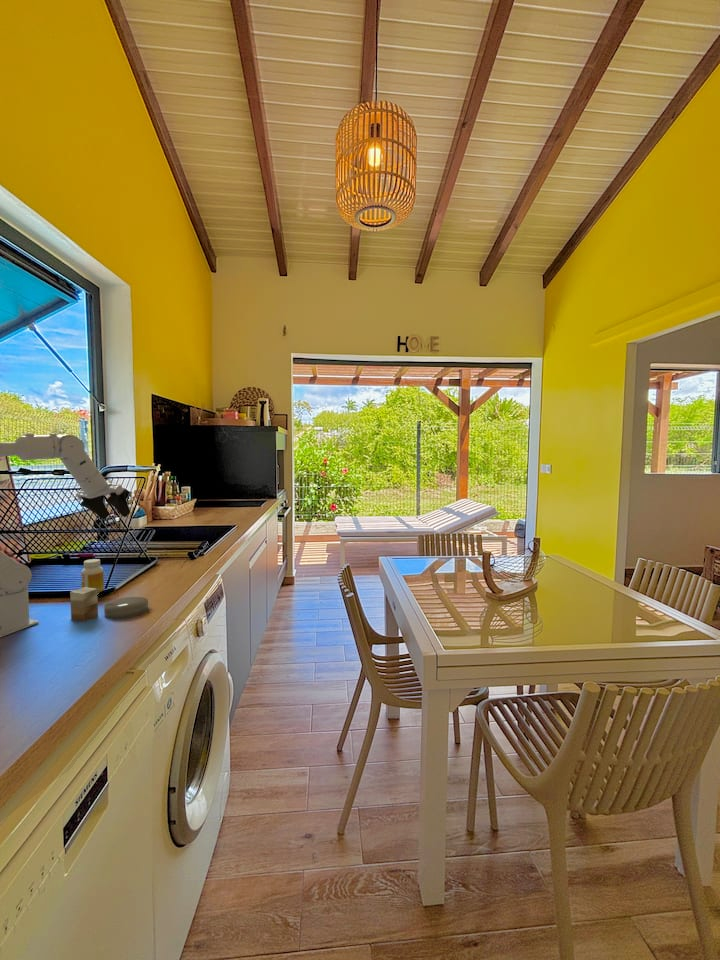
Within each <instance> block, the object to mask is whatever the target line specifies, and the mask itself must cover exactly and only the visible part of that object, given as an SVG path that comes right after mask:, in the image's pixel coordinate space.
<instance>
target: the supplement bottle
mask: <svg viewBox="0 0 720 960" xmlns="http://www.w3.org/2000/svg"><path fill="white" fill-rule="evenodd" d="M83 567H84V568H82V570H81V572H80V573H81V575H80V576H81V588H83V587H88V588H95V589H97V595H98V594H99V593H100V592H102V591H103V590H104V591H105V582H104V580H105V579H104V578H105V577H104V568H103V567H102V566H101V559H100V558H98V559H97V558H92V559H86V560H84V561H83ZM98 596H99V595H98Z"/></svg>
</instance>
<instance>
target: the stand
mask: <svg viewBox="0 0 720 960" xmlns="http://www.w3.org/2000/svg"><path fill="white" fill-rule="evenodd" d="M103 608H104V609H103V610H104V611H103V612H104V613H103V614H104V617H106V618H109V619H127V618H133V617H137V616H139V615H142V614H144V613H146V612H147V611H148V610H149V599H147V598H146V597H143V596H128V597H121V598H116V599H113V600H110V601H107V602H106V603H105V605H104V606H103ZM145 611H146V612H145Z"/></svg>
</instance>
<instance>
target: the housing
mask: <svg viewBox="0 0 720 960" xmlns="http://www.w3.org/2000/svg"><path fill="white" fill-rule="evenodd" d="M69 595H70V596H69V597H70V618H71V619H70V620H71V621H76V622H81V623H85V622H88V621H90V620H92V619H94V618H98V617H99V605H98V603H99V601H98V600H99V599H98V596H97V589H95V588H88V587H83V588H82V587H80V588H78V589H75V590H72V591H69Z"/></svg>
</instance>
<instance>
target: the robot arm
mask: <svg viewBox="0 0 720 960" xmlns="http://www.w3.org/2000/svg"><path fill="white" fill-rule="evenodd" d="M11 456H16V458H19V459H20V460H21V461H36V460H50V459H52V460H53V459H56V458H57V459H59V460H60V461H61V462H62V464H63V465H64V466H65V468H66V470H67V471H68V472H69V474H70V475H71V476H72V477H73V479H74V480H75V481H76V482H77V484H78V486H79V487H80V490H79V491H77V492H76V493H75V496H76V497H77V498H78V500H82V501H81V502H80V504H79V505H80V506H81V507H83V508H86V509H88V510H89V511H91V512H93V513H94V514H96V515H97V516H98V517H99V518H101V519H102V520H106V518H108V517H109V516H110V512H109V510H108V508H107V506H106V505H105V502H106V503H108V504H109V505H111V506H113V507H114V509H116V510H117V512H118V513H119V514H120V515H121V516H122V517H123V518H127V517H128V516H129V515H130V513H131V511H130V507H129V504H128V501H127V489H126V488H125V487H123V486H122V485H121V484H120V483H119V484H116V483H112V482H111V480H106V479H105V477H104V476H103V475H102V473H101V471H100V470H99V469H98V467H97V466H96V464H95V463H94V462H93V461H92V459H91V458H90V456H89V455H88V454H87V453H86V451H85V442H84V441H83V439H80V438H79V437H78V436H76V435H74V434H73V435H72V434H57V433H56V432H54V433H53V432H51V433H49V434H46V435H44V434H43V435H35V434H34V432H33V433H31V432H30V433H24V435H21V436H20V435H19V436H18V437H17V438H16V439H15V440H14V441H12V442H11V441H10V442H5V441H4V442H0V457H2V458H3V457H11ZM108 495H109V496H108ZM102 496H108V498H106V499H105V502H104V501H103V499H102ZM32 577H33V575H32V570H31V569H30V568H29V567H28V565H25V564H21V563H18V562H16V561H15V560H14V559H13V558H12V557H10V556H9V555H7V554H6V553H4V552H3V551H2V550H0V638H2V637H5V636H7V635H11V634H14V633H16V632H19V631H21V630H23V629H27V628H28V627H31V626H33V625H37V624H39V623H40V621H39V620H37V619H31V618H30V604H29V603H30V602H29V584H30V583H31V580H32Z"/></svg>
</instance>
